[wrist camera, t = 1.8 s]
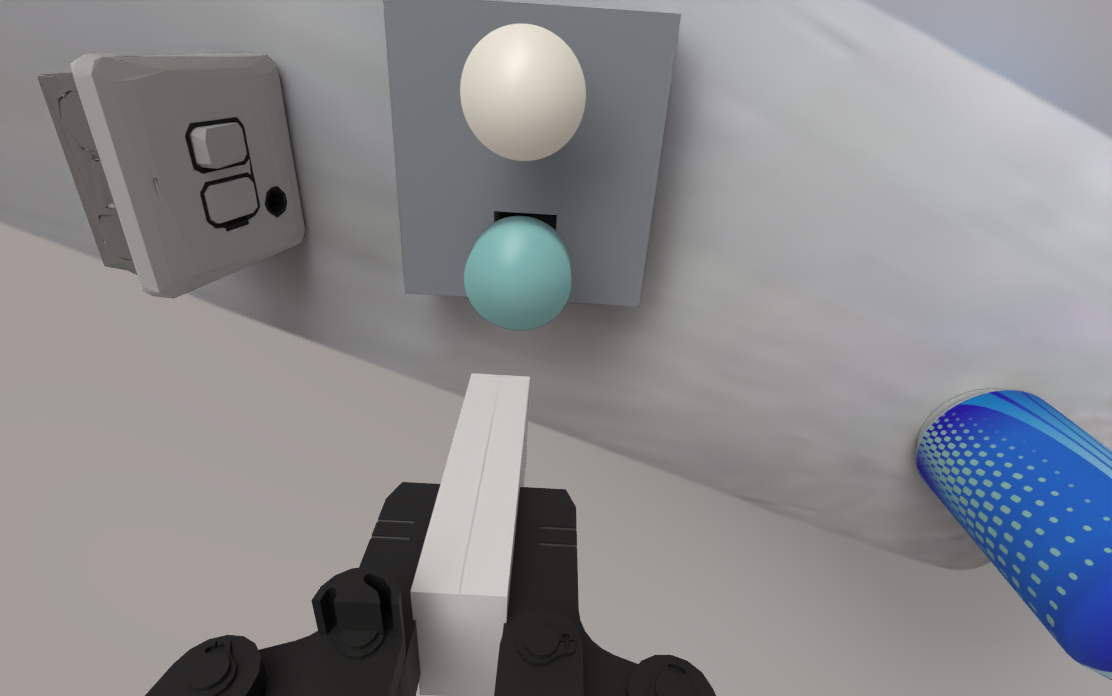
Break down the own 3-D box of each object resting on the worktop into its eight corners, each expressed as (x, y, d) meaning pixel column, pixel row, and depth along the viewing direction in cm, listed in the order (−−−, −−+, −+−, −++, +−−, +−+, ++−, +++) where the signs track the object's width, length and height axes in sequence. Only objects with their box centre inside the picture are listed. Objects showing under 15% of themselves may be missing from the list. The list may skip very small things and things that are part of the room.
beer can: (945, 368, 35) (1198, 585, 21) (1066, 390, 36) (1389, 614, 22) (882, 469, 39) (1062, 709, 25) (993, 488, 40) (1227, 730, 26)
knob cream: (479, 23, 23) (458, 18, 19) (585, 30, 24) (591, 28, 19) (480, 135, 26) (461, 157, 21) (576, 141, 26) (580, 164, 21)
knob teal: (480, 192, 27) (462, 226, 22) (572, 198, 27) (575, 233, 22) (480, 279, 29) (464, 327, 24) (566, 284, 29) (567, 333, 24)
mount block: (406, -1, 26) (382, -7, 23) (664, 17, 26) (680, 13, 23) (422, 265, 32) (405, 293, 29) (630, 278, 33) (639, 306, 29)
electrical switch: (310, 240, 32) (202, 308, 24) (222, 233, 32) (86, 297, 24) (279, 52, 27) (133, 56, 19) (178, 46, 28) (-9, 47, 19)
